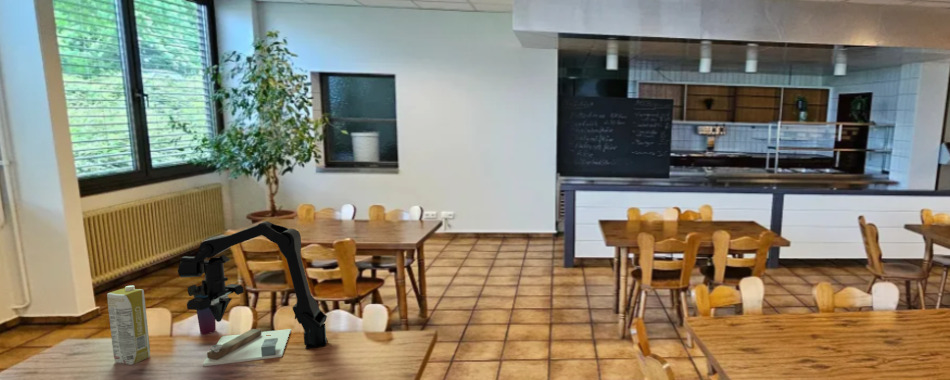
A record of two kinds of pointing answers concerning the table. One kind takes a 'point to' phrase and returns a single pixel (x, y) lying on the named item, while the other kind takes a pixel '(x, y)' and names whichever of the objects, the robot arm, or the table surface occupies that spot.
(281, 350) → the base plate
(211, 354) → the link
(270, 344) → the keeper
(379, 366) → the table surface
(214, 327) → the cup
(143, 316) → the juice carton
